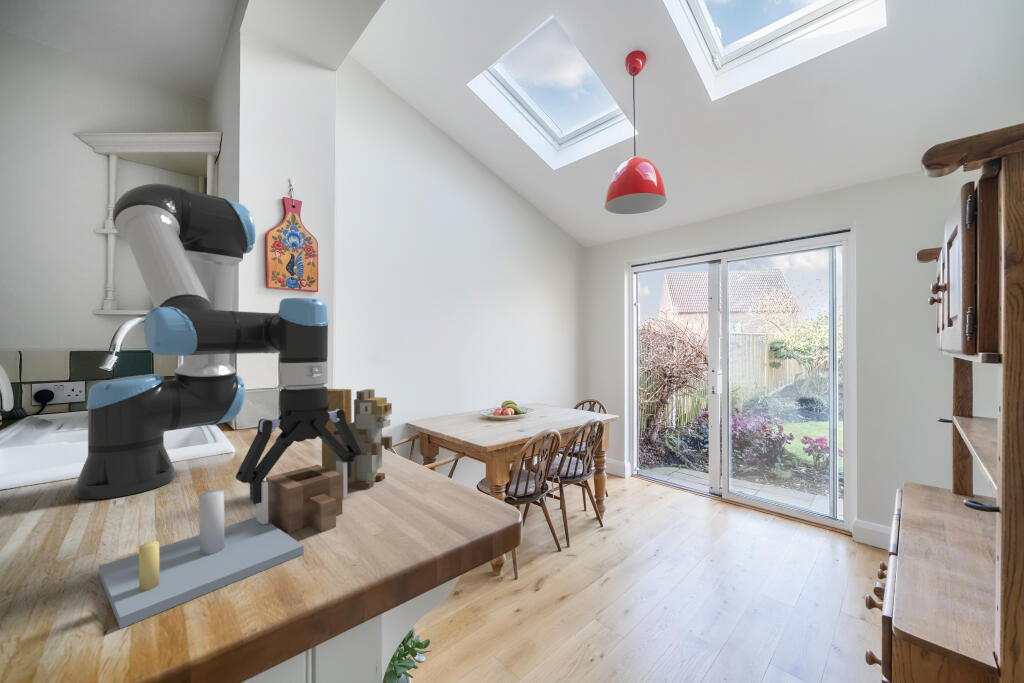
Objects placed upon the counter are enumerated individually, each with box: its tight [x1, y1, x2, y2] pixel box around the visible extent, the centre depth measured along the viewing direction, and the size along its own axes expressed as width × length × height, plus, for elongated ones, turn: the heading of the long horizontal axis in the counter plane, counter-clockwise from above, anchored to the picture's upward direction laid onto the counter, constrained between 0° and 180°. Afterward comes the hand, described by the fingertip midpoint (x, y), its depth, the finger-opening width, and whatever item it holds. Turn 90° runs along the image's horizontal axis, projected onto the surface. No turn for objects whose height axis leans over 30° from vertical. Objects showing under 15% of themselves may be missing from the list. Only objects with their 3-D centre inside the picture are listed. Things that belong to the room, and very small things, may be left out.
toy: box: [321, 388, 393, 490], centre depth 87 cm, size 6×17×20 cm, turn 78°
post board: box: [98, 489, 305, 630], centre depth 55 cm, size 16×19×9 cm
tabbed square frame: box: [265, 464, 344, 533], centre depth 69 cm, size 13×9×7 cm
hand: (304, 508), depth 70 cm, fingers open, 13 cm apart
